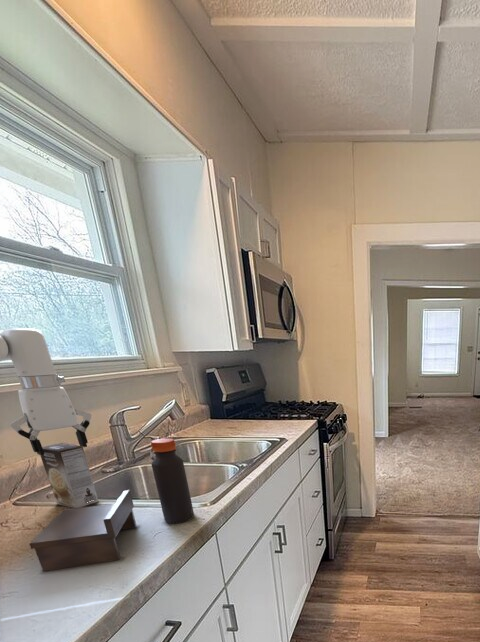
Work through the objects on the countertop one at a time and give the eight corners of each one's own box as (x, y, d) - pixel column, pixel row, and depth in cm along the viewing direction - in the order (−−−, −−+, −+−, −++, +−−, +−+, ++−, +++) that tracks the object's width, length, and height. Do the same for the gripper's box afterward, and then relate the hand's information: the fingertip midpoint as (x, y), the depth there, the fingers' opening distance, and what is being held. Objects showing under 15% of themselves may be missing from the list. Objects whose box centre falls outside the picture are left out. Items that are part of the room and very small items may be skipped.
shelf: (40, 571, 78) (23, 529, 74) (71, 534, 94) (58, 497, 90) (122, 559, 82) (110, 518, 79) (139, 525, 98) (129, 489, 94)
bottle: (181, 511, 106) (165, 436, 98) (200, 515, 103) (185, 438, 95) (158, 521, 100) (139, 442, 92) (177, 526, 97) (159, 445, 90)
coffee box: (55, 504, 111) (35, 447, 105) (79, 496, 116) (61, 442, 110) (77, 509, 108) (58, 450, 101) (100, 501, 113) (83, 445, 107)
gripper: (74, 379, 108) (93, 442, 115) (-10, 385, 95) (17, 455, 102) (85, 380, 104) (104, 445, 111) (-1, 387, 91) (27, 460, 98)
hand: (63, 450), depth 106 cm, fingers open, 9 cm apart
